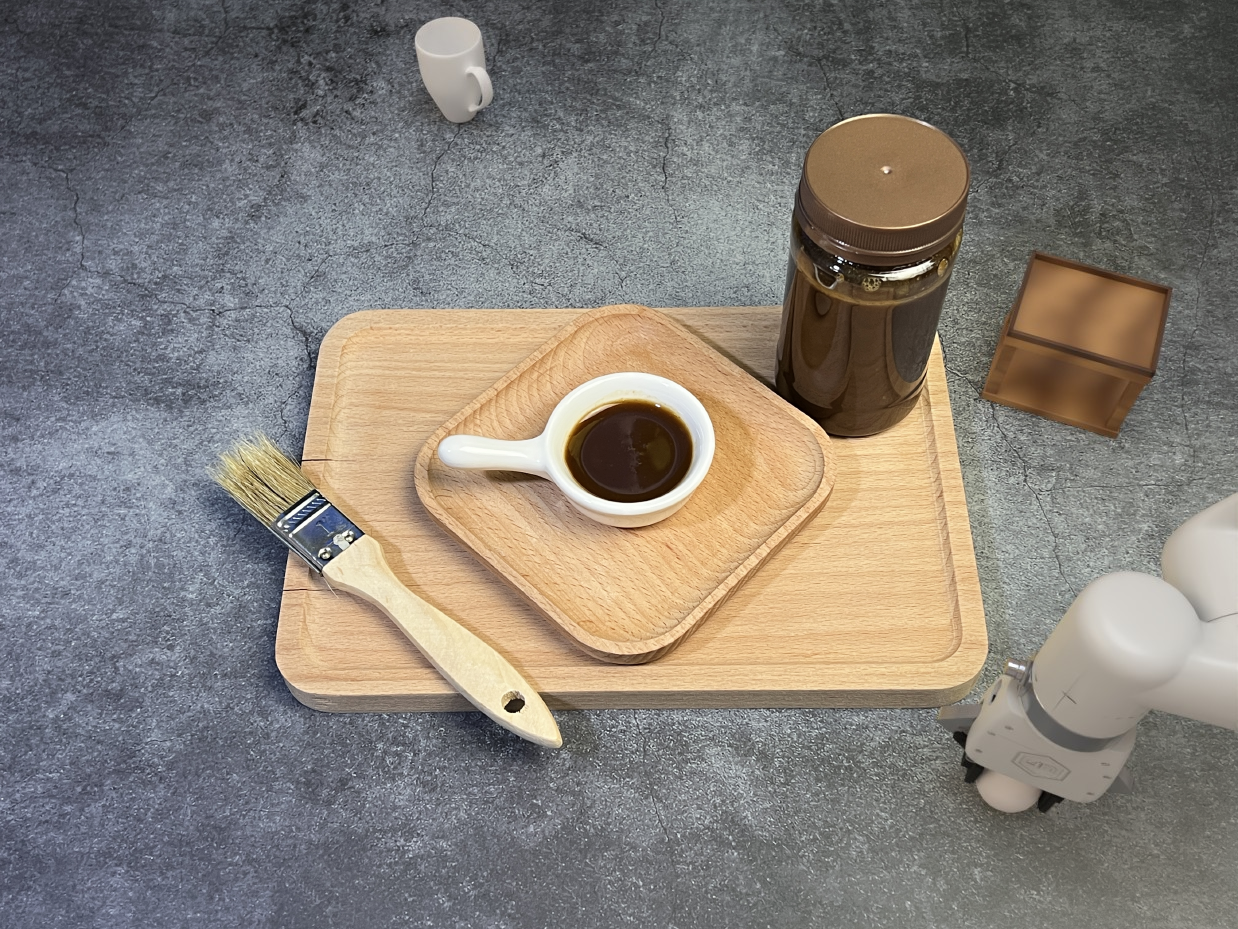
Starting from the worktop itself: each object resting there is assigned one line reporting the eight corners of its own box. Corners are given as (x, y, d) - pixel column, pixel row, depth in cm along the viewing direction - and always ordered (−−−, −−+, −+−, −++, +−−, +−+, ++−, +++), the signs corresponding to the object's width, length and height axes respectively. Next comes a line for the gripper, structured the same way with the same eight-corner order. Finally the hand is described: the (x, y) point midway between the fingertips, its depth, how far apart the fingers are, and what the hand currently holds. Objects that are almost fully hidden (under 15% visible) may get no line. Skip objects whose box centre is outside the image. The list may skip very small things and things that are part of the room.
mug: (416, 110, 145) (400, 33, 136) (467, 84, 148) (456, 7, 139) (469, 156, 140) (456, 80, 131) (521, 128, 143) (512, 51, 134)
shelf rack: (1133, 356, 120) (1173, 287, 111) (1115, 439, 114) (1155, 373, 105) (1005, 319, 123) (1033, 249, 114) (980, 398, 117) (1008, 330, 108)
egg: (1013, 754, 95) (1038, 722, 89) (1041, 813, 92) (1070, 784, 86) (956, 769, 94) (978, 739, 88) (983, 830, 92) (1008, 802, 85)
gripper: (943, 697, 76) (894, 782, 91) (1201, 793, 72) (1105, 865, 87) (968, 607, 80) (917, 703, 95) (1215, 693, 76) (1120, 779, 91)
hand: (1008, 780), depth 91 cm, fingers closed on egg, 5 cm apart
